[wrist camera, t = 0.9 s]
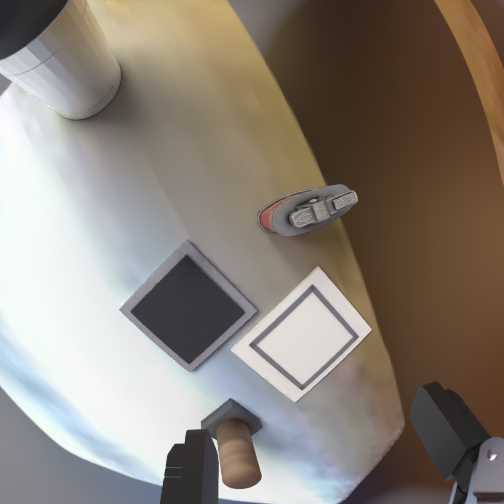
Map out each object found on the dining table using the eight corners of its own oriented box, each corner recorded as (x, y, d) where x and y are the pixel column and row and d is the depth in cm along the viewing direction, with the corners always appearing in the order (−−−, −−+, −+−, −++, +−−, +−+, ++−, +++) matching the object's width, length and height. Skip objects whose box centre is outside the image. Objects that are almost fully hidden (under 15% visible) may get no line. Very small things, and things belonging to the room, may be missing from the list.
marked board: (230, 348, 35) (231, 351, 34) (317, 266, 35) (319, 267, 34) (293, 400, 37) (295, 403, 36) (369, 328, 38) (372, 330, 37)
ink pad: (120, 307, 32) (117, 311, 30) (186, 239, 32) (186, 240, 31) (189, 369, 34) (189, 375, 33) (256, 308, 34) (258, 312, 33)
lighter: (263, 237, 34) (289, 248, 24) (252, 208, 33) (273, 207, 23) (326, 210, 34) (371, 211, 25) (316, 183, 34) (359, 174, 24)
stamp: (201, 421, 35) (204, 480, 25) (230, 398, 36) (242, 455, 25) (230, 440, 37) (241, 497, 26) (259, 418, 37) (278, 474, 26)
